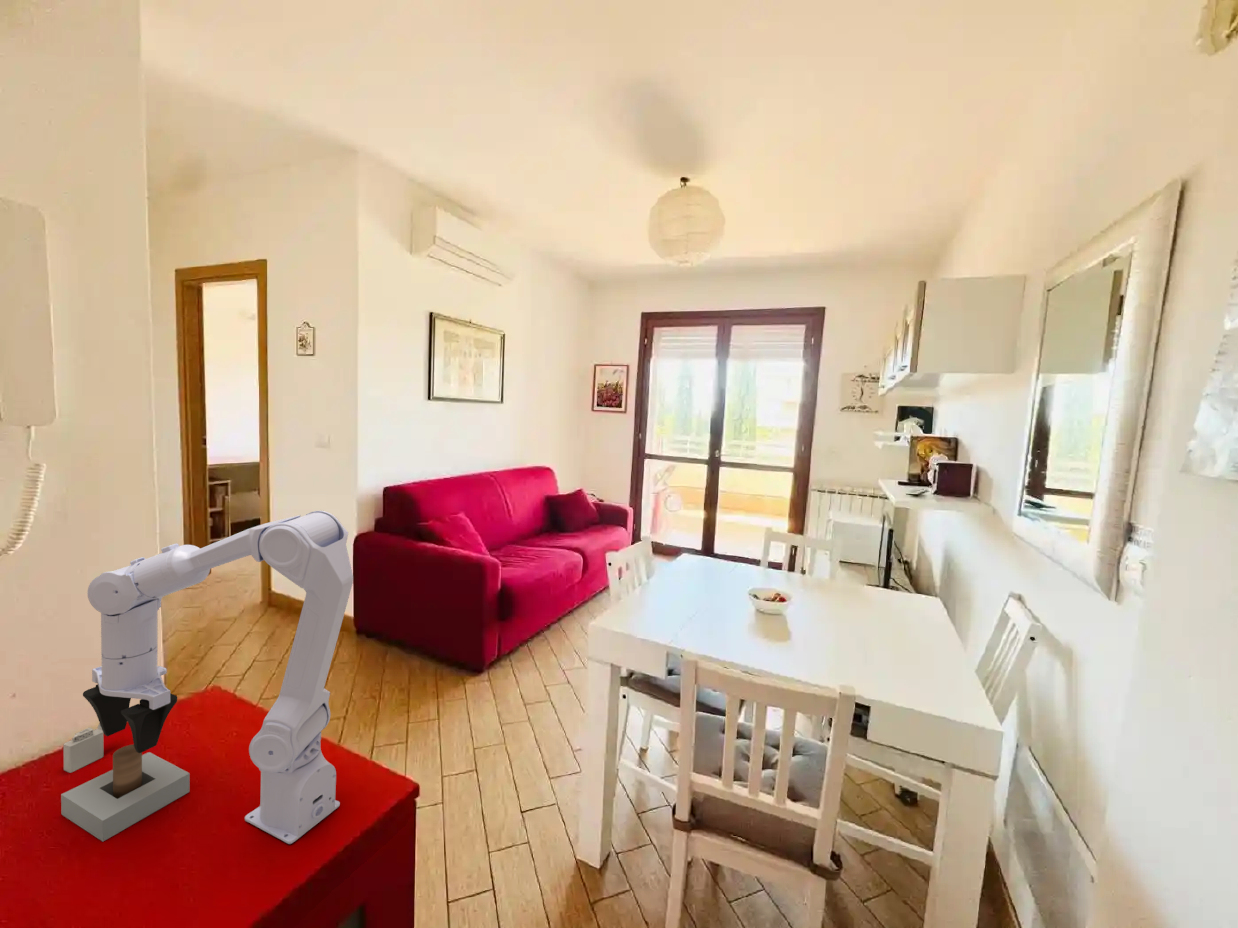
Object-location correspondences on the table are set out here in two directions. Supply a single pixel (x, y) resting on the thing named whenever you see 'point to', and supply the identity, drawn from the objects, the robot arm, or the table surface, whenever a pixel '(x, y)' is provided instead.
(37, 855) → the table surface
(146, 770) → the socket block
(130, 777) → the walnut peg
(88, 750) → the lighter
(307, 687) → the robot arm
